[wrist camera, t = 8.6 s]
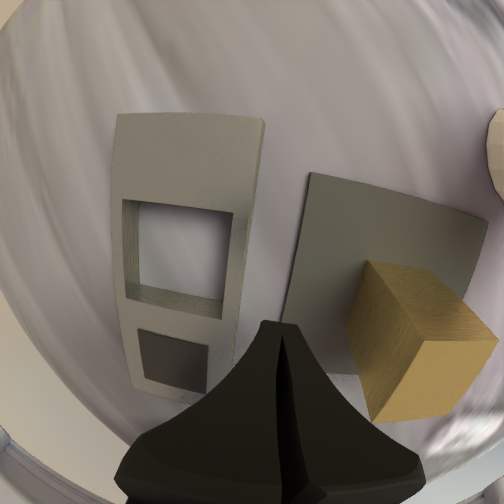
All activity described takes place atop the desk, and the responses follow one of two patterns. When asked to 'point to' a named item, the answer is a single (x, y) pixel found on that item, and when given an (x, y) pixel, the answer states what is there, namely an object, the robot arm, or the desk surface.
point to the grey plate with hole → (192, 195)
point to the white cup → (496, 151)
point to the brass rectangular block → (413, 343)
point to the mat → (368, 255)
